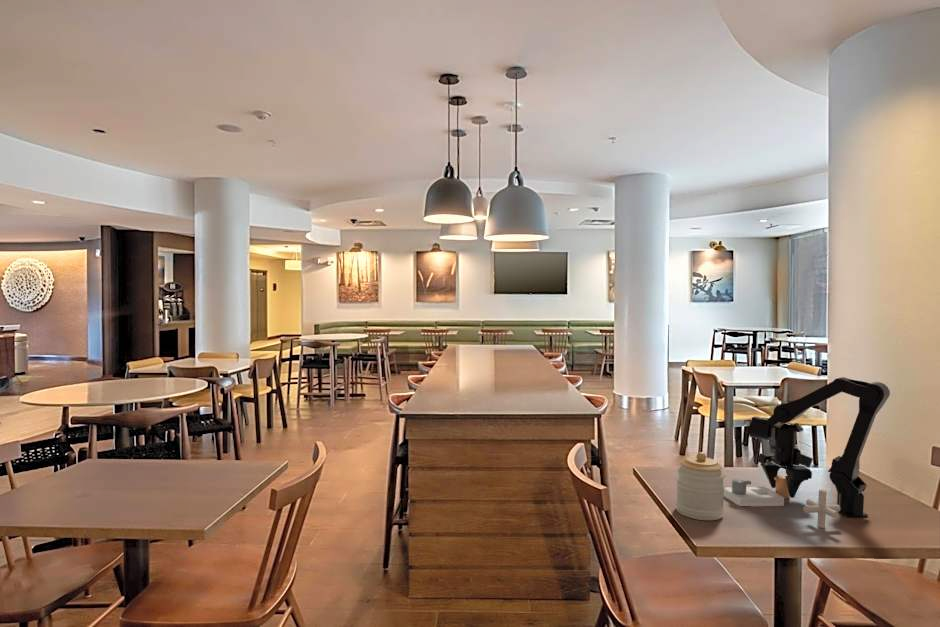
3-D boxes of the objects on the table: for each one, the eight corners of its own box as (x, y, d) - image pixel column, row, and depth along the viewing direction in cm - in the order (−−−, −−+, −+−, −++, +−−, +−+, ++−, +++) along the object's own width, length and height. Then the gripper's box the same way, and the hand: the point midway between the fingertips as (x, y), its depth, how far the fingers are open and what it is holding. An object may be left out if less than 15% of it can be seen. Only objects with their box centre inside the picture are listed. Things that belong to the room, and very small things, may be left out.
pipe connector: (823, 519, 171) (825, 484, 170) (851, 533, 161) (853, 496, 160) (792, 520, 169) (793, 485, 168) (818, 534, 159) (820, 497, 159)
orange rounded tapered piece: (792, 498, 187) (793, 479, 187) (778, 498, 187) (779, 479, 187) (784, 494, 191) (785, 475, 191) (770, 494, 191) (771, 475, 191)
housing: (783, 505, 181) (784, 486, 180) (740, 506, 179) (740, 486, 179) (763, 494, 191) (764, 475, 190) (722, 495, 189) (722, 476, 189)
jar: (665, 507, 177) (668, 448, 176) (701, 503, 182) (703, 445, 181) (696, 523, 165) (699, 460, 164) (733, 518, 169) (736, 456, 169)
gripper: (829, 451, 180) (827, 502, 181) (789, 436, 199) (787, 482, 199) (795, 451, 179) (792, 503, 180) (757, 436, 197) (755, 483, 198)
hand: (782, 492), depth 189 cm, fingers open, 9 cm apart
